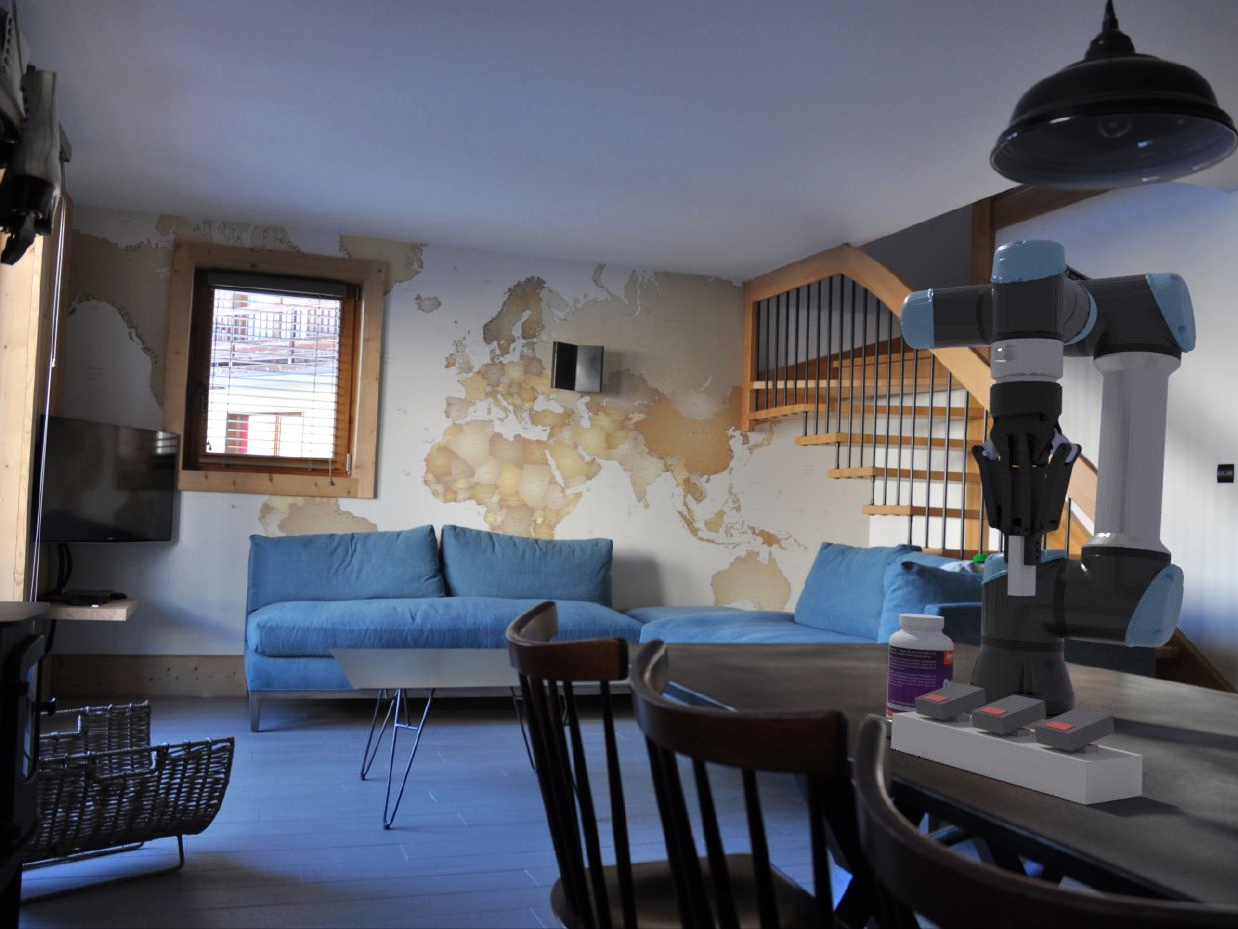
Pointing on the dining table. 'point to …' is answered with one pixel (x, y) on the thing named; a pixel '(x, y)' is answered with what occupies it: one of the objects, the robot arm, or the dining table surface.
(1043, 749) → the power strip
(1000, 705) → the rocker
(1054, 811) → the dining table surface
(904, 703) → the pill bottle
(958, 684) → the rocker
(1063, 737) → the rocker
